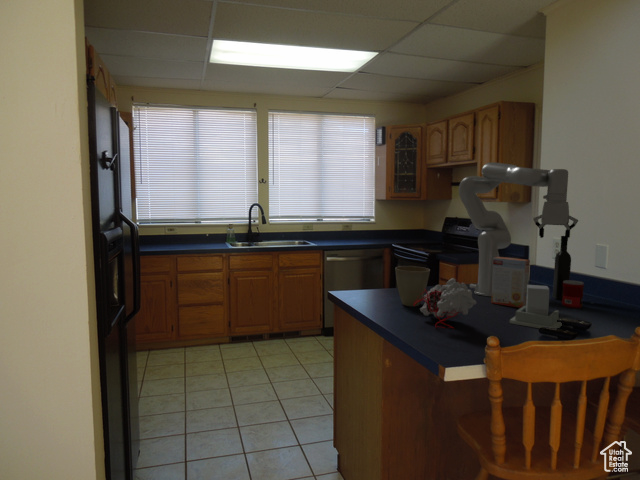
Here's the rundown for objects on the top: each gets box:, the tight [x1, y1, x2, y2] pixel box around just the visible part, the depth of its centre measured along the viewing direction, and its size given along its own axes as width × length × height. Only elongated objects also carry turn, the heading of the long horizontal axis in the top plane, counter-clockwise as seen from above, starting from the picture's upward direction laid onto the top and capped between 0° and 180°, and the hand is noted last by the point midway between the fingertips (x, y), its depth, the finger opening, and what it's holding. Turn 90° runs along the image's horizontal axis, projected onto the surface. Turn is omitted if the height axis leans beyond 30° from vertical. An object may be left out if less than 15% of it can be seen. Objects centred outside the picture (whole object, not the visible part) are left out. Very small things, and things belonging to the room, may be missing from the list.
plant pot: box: [394, 265, 431, 307], centre depth 200 cm, size 15×15×16 cm
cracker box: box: [490, 256, 531, 309], centre depth 203 cm, size 14×6×21 cm, turn 47°
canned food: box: [561, 279, 585, 309], centre depth 203 cm, size 8×8×11 cm
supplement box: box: [526, 284, 551, 316], centre depth 174 cm, size 7×7×13 cm
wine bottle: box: [552, 235, 572, 301], centre depth 217 cm, size 6×6×30 cm
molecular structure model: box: [412, 277, 477, 330], centre depth 169 cm, size 20×18×25 cm
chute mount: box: [509, 306, 563, 329], centre depth 174 cm, size 16×14×5 cm
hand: (554, 238), depth 197 cm, fingers open, 9 cm apart
